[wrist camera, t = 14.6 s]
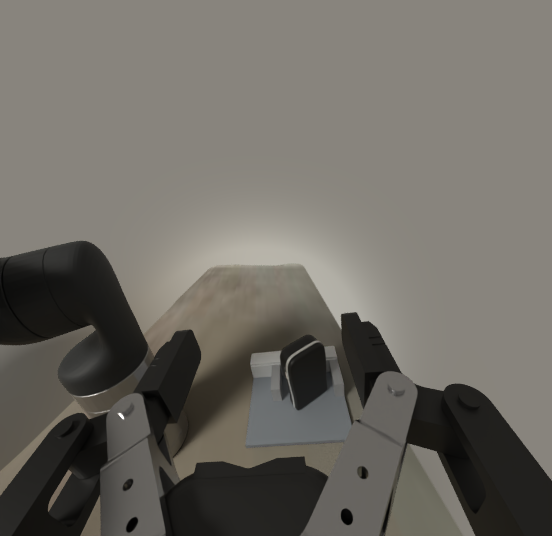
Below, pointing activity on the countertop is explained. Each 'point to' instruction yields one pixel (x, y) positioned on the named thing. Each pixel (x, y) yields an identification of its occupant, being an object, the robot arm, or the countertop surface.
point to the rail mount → (281, 413)
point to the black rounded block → (304, 370)
